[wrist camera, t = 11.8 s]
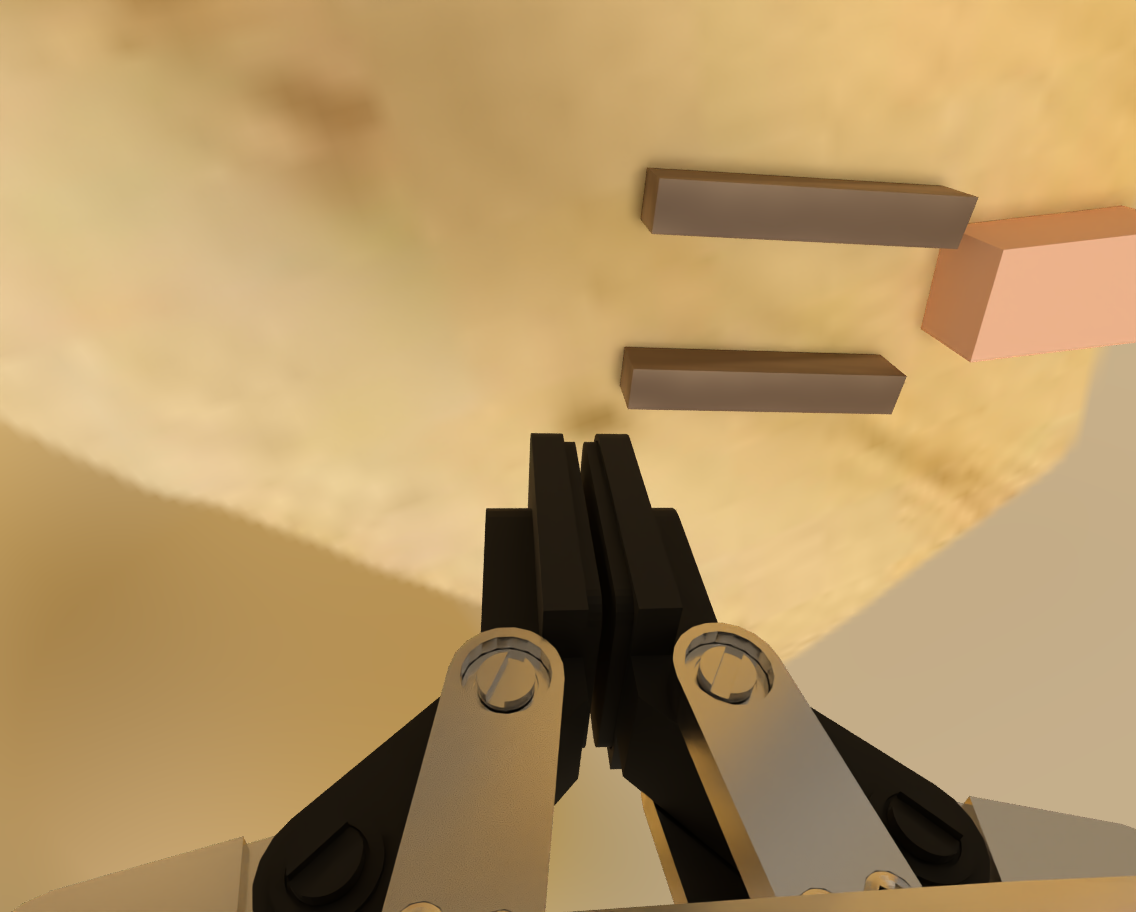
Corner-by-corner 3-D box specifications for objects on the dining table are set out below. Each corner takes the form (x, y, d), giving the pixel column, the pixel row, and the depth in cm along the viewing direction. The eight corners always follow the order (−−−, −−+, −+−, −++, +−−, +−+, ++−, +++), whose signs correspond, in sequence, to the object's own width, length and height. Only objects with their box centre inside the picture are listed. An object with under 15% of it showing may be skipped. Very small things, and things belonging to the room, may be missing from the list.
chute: (647, 167, 31) (659, 178, 29) (942, 186, 33) (978, 197, 31) (619, 385, 38) (628, 409, 35) (867, 391, 40) (891, 414, 37)
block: (943, 225, 34) (1003, 250, 30) (1119, 205, 35) (1203, 226, 30) (919, 327, 38) (970, 362, 34) (1079, 308, 38) (1150, 340, 34)
